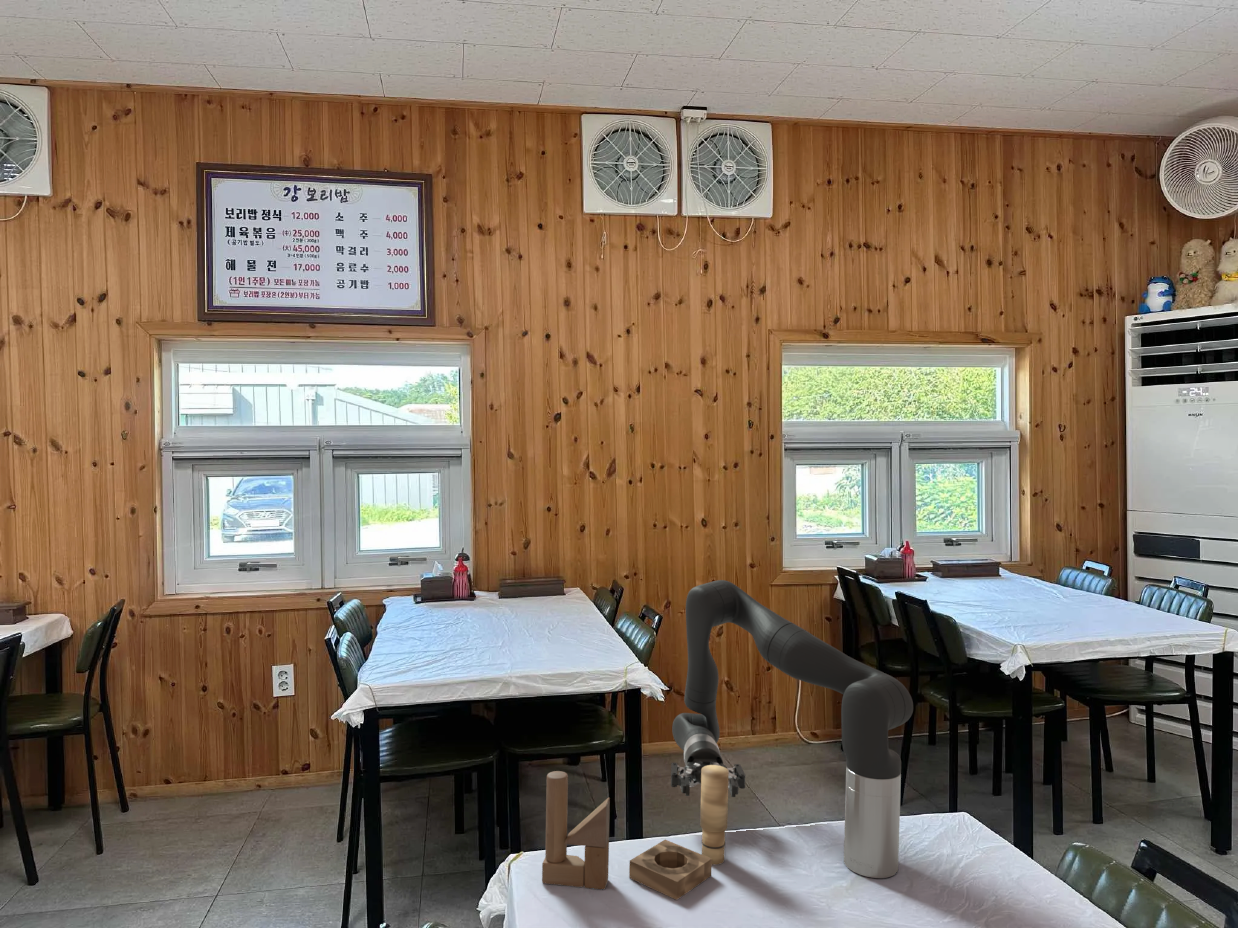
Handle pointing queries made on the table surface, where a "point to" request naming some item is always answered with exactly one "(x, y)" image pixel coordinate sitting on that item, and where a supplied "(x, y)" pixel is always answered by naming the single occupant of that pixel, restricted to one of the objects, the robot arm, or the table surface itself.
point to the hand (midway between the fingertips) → (710, 791)
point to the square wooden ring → (670, 869)
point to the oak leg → (714, 811)
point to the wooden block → (574, 840)
